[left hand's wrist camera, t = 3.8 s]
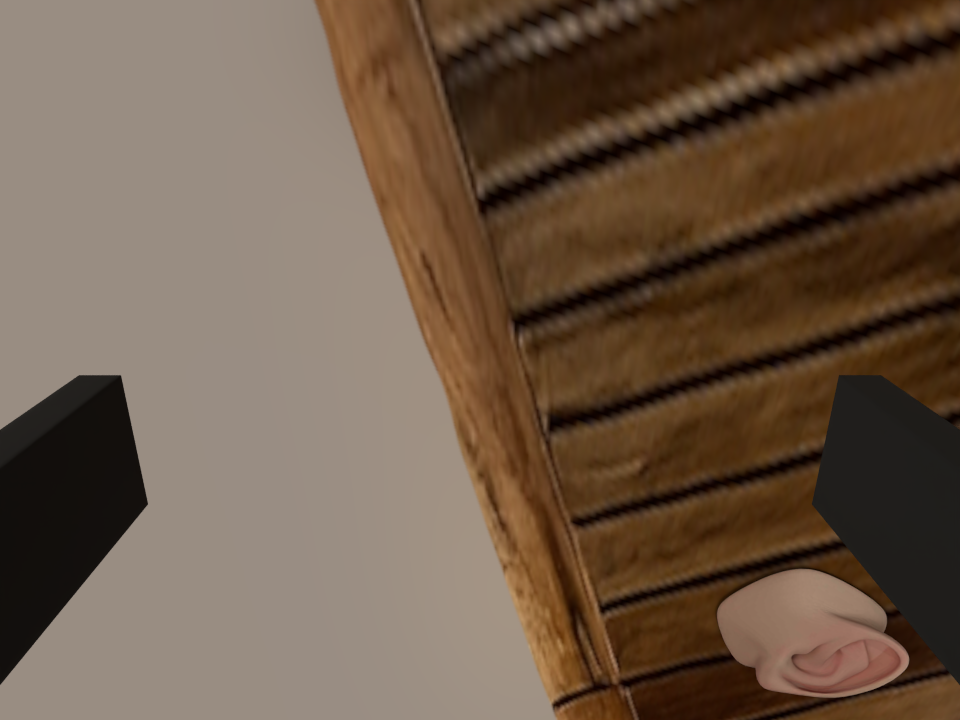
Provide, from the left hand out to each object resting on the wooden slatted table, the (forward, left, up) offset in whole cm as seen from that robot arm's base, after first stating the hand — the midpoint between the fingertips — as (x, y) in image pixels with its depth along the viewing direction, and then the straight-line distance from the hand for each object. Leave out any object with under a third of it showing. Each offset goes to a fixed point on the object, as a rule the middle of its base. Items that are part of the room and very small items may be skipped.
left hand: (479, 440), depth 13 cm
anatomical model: (-11, +42, -33) cm, 55 cm away
